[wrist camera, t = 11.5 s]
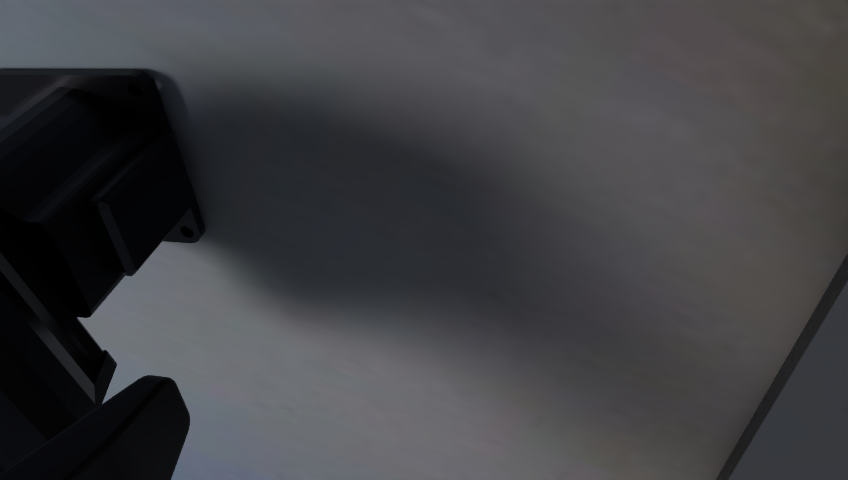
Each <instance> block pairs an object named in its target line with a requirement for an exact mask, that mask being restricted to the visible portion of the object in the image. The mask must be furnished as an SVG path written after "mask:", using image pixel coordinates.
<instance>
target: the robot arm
mask: <svg viewBox="0 0 848 480" xmlns="http://www.w3.org/2000/svg"><path fill="white" fill-rule="evenodd" d="M135 83H136V84H138V85H139V86H140V87H141V88H142V90H143V91H140V90H139V89H138V88H137V87H136V85H135ZM188 227H189V228H190V229H192V230H190V229H189V228H188ZM204 232H205V225H204V223H203V220H202V217H201V214H200V211H199V208H198V205H197V202H196V198H195V195H194V192H193V189H192V186H191V184H190V181H189V178H188V175H187V172H186V169H185V166H184V163H183V160H182V157H181V155H180V152H179V149H178V146H177V143H176V140H175V138H174V136H173V133H172V130H171V127H170V124H169V121H168V118H167V115H166V112H165V110H164V107H163V104H162V101H161V98H160V95H159V92H158V89H157V86H156V84H155V82H154V80H153V79H152V78H151V77H150V76H149V75H148V74H147V73H145V72H143V71H140V70H15V69H0V480H171V478H172V475H173V472H174V470H175V467H176V464H177V461H178V459H179V456H180V453H181V450H182V448H183V445H184V442H185V439H186V436H187V434H188V431H189V426H190V415H189V412H188V409H187V407H186V405H185V403H184V400H183V398H182V396H181V393H180V391H179V389H178V387H177V384H176V383H175V381H174V380H172V379H171V378H168V377H161V376H153V375H148V376H144V377H142V378H140V379H138V380H137V381H135V382H134V383H132V384H131V385H129V386H128V387H127V388H125V389H124V390H122V391H121V392H119V393H118V394H116V395H115V396H113V397H112V398H110V399H109V400H108V401H106V402H105V403H103V404H102V402H103V400H104V397H105V395H106V392H107V389H108V387H109V384H110V382H111V379H112V377H113V374H114V371H115V369H116V366H117V363H116V362H115V361H114V359H113V358H112V357H111V355H110V354H109V353H108V352H107V351H106V350H102V349H101V348H100V346H99V345H98V344H97V343H96V341H95V340H94V339H93V337H92V336H91V335H90V334H89V332H88V331H87V330H86V328H85V327H84V326H83V325H82V323H81V322H80V321H79V319H78V318H77V317H84V318H87V317H90V316H91V315H92V314H93V313H94V312H95V310H96V309H97V308H98V307H99V306H100V305H101V303H102V302H103V301H104V300H105V299H106V297H107V296H108V295H109V294H110V293H111V292H112V290H113V289H114V288H115V287H116V286H117V285H118V283H119V282H120V281H121V280H122V279H123V277H124V276H133V275H134V274H135V273H136V272H137V271H138V270H139V268H140V267H141V266H142V265H143V264H144V262H145V261H146V260H147V259H148V258H149V256H150V255H151V254H152V253H153V252H154V250H155V249H156V248H157V247H158V246H159V244H160V243H161V242H162V241H168V242H182V243H196V242H197V241H199V239H200V238H201V237H202V236H203V234H204Z"/></svg>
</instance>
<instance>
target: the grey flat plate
mask: <svg viewBox="0 0 848 480" xmlns="http://www.w3.org/2000/svg"><path fill="white" fill-rule="evenodd" d="M716 480H848V254H847V256H846V258H845V259H844V261H843V263H842V265H841V266H840V268H839V270H838V271H837V273H836V275H835V277H834V278H833V280H832V282H831V283H830V285H829V287H828V289H827V290H826V292H825V294H824V295H823V297H822V299H821V301H820V302H819V304H818V306H817V307H816V309H815V311H814V313H813V314H812V316H811V318H810V320H809V321H808V323H807V325H806V326H805V328H804V330H803V332H802V333H801V335H800V337H799V338H798V340H797V342H796V344H795V345H794V347H793V349H792V350H791V352H790V354H789V356H788V357H787V359H786V361H785V362H784V364H783V366H782V368H781V369H780V371H779V373H778V374H777V376H776V378H775V380H774V381H773V383H772V385H771V387H770V388H769V390H768V392H767V393H766V395H765V397H764V399H763V400H762V402H761V404H760V405H759V407H758V409H757V411H756V412H755V414H754V416H753V417H752V419H751V421H750V423H749V424H748V426H747V428H746V429H745V431H744V433H743V435H742V436H741V438H740V440H739V441H738V443H737V445H736V447H735V448H734V450H733V452H732V454H731V455H730V457H729V459H728V460H727V462H726V464H725V466H724V467H723V469H722V471H721V472H720V474H719V476H718V478H717V479H716Z"/></svg>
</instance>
